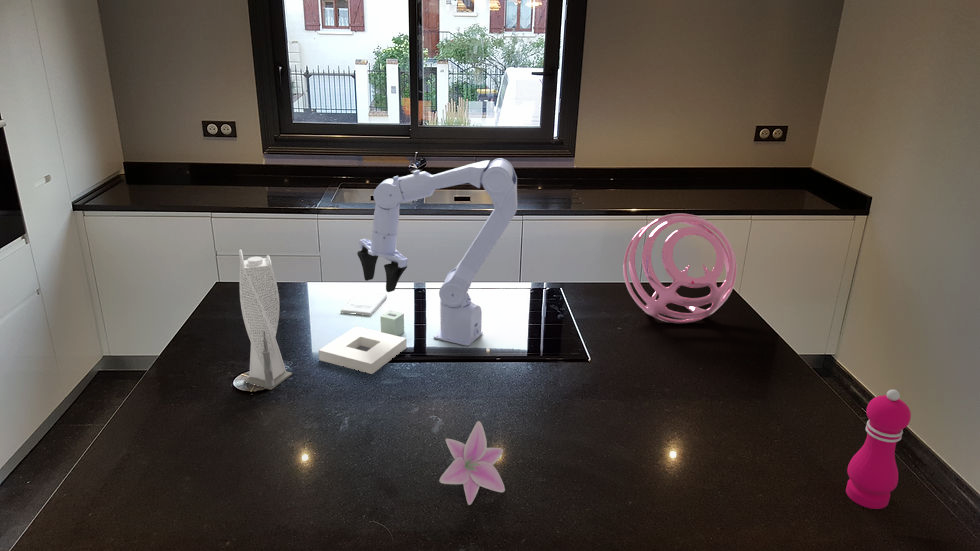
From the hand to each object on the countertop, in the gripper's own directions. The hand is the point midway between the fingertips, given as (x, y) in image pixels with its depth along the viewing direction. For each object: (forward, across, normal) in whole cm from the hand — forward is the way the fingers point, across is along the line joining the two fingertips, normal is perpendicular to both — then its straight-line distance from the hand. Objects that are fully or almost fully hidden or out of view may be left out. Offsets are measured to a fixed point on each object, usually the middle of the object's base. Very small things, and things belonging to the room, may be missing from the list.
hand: (379, 285), depth 164 cm
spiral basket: (+2, +51, +56) cm, 76 cm away
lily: (+8, +57, -30) cm, 64 cm away
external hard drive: (+14, -14, +9) cm, 21 cm away
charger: (+12, +4, +2) cm, 13 cm away
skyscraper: (+15, 0, -30) cm, 34 cm away
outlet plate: (+12, +7, -10) cm, 17 cm away
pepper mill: (-1, +107, +11) cm, 107 cm away
